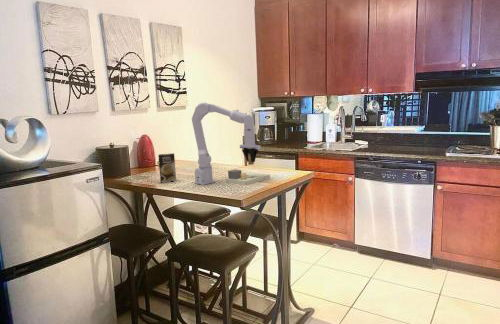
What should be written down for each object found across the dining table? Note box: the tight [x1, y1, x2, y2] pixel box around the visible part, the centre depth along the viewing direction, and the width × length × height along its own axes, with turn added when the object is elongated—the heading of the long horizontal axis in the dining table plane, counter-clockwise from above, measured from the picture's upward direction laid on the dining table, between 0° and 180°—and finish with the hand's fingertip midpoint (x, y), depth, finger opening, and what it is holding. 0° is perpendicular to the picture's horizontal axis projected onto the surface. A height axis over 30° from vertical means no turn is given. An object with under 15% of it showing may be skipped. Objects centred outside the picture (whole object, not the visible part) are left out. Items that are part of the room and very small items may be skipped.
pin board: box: [225, 172, 271, 186], centre depth 210 cm, size 20×15×5 cm
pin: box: [248, 153, 255, 166], centre depth 208 cm, size 3×3×6 cm
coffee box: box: [158, 153, 177, 183], centre depth 219 cm, size 9×6×16 cm
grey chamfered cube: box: [227, 169, 242, 179], centre depth 208 cm, size 5×5×4 cm
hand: (250, 161), depth 208 cm, fingers closed on pin, 3 cm apart
